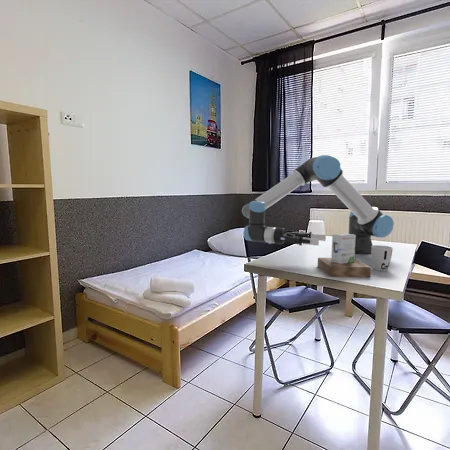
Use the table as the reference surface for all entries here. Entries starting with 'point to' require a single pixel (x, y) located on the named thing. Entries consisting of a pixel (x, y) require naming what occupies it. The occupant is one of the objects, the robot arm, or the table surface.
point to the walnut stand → (344, 268)
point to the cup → (381, 257)
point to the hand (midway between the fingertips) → (322, 239)
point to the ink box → (343, 248)
